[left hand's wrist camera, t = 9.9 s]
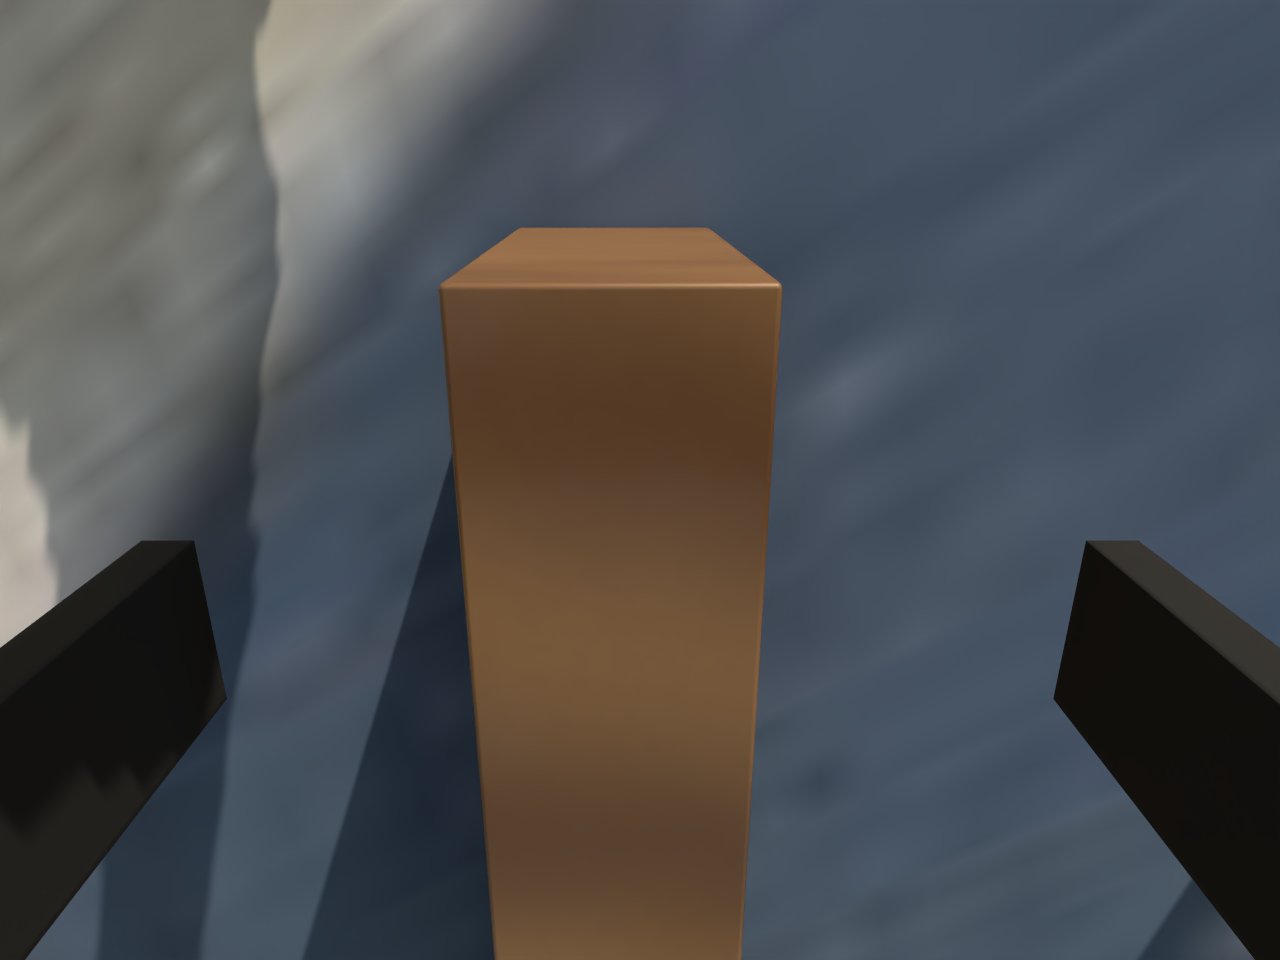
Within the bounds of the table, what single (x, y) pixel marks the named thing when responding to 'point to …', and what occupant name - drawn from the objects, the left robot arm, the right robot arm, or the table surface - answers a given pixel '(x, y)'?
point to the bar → (613, 579)
